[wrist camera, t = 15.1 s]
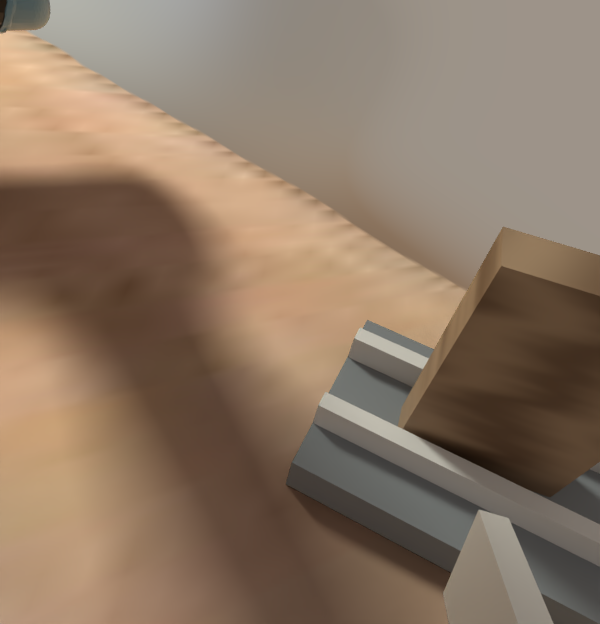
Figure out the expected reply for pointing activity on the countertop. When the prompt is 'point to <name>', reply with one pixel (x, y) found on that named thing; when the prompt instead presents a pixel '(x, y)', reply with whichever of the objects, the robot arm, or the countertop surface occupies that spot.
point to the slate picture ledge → (439, 481)
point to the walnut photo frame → (518, 367)
